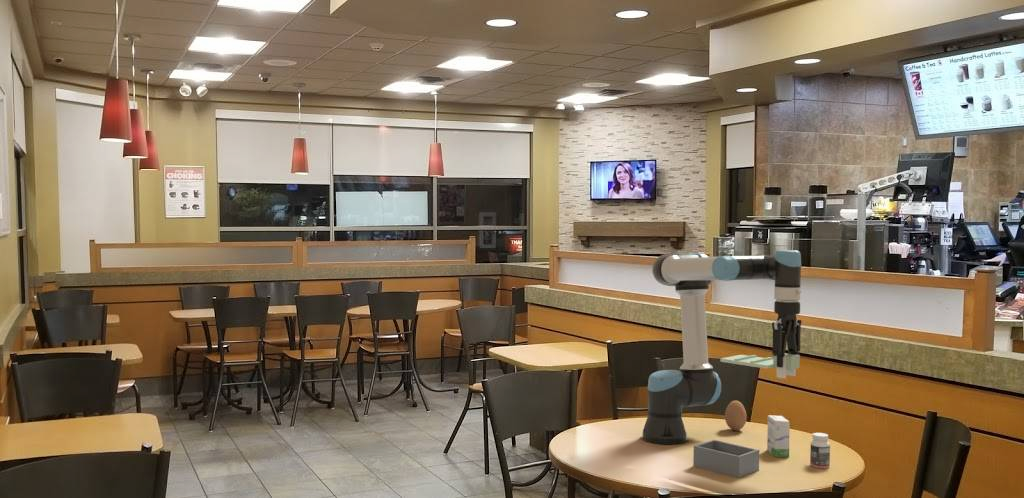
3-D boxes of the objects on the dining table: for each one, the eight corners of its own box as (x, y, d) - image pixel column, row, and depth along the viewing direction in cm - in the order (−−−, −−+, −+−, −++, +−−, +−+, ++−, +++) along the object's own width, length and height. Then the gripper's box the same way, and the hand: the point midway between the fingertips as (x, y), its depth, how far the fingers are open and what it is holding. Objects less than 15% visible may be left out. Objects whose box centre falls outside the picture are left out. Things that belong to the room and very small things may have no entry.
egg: (742, 427, 312) (742, 398, 311) (749, 432, 304) (749, 402, 304) (722, 427, 311) (722, 398, 311) (728, 433, 304) (728, 402, 303)
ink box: (789, 457, 274) (790, 421, 273) (774, 457, 274) (775, 421, 273) (781, 450, 282) (781, 414, 282) (766, 449, 282) (767, 414, 282)
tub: (693, 468, 261) (693, 445, 261) (713, 461, 268) (714, 439, 268) (739, 480, 249) (739, 456, 249) (758, 472, 257) (759, 449, 256)
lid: (720, 361, 270) (720, 349, 270) (740, 357, 278) (740, 345, 277) (785, 371, 253) (785, 358, 253) (805, 366, 261) (805, 354, 261)
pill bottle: (807, 463, 267) (807, 432, 266) (824, 463, 267) (825, 431, 267) (815, 468, 261) (815, 437, 261) (832, 468, 262) (833, 436, 261)
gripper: (783, 303, 250) (781, 382, 251) (813, 299, 262) (812, 374, 263) (760, 301, 255) (759, 378, 256) (791, 297, 267) (789, 371, 268)
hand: (786, 376), depth 259 cm, fingers closed on lid, 5 cm apart
